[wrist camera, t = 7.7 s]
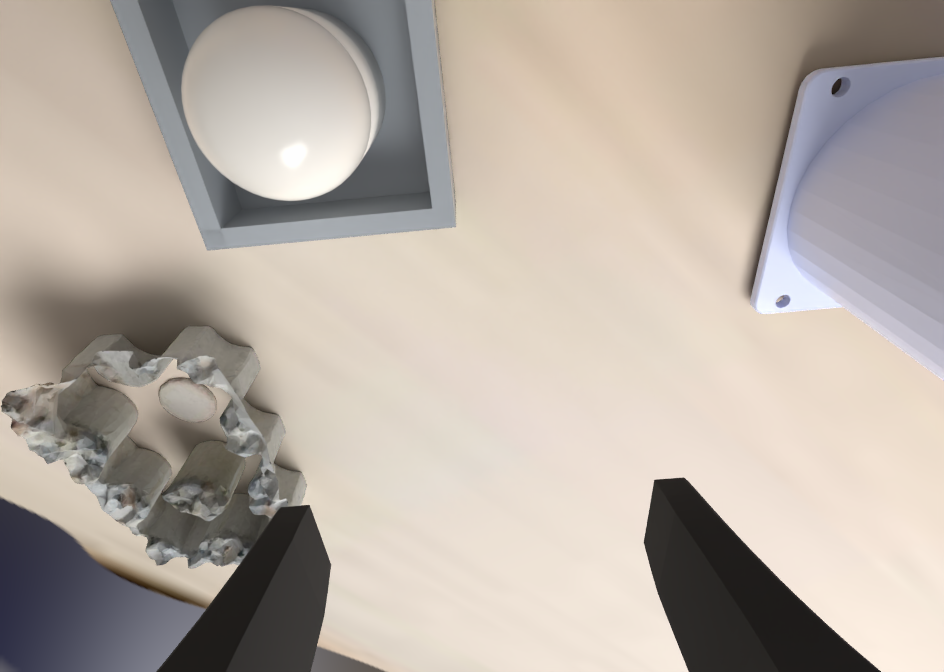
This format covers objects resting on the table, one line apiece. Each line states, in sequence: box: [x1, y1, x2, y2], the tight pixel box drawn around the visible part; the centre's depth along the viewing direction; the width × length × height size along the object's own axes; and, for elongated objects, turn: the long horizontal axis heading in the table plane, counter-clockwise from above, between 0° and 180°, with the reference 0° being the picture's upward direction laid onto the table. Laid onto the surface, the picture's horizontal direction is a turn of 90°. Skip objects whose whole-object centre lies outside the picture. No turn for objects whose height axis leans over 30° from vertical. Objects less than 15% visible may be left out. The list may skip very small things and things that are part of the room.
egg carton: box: [1, 326, 307, 568], centre depth 20 cm, size 11×8×4 cm
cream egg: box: [181, 5, 386, 201], centre depth 12 cm, size 4×4×5 cm
